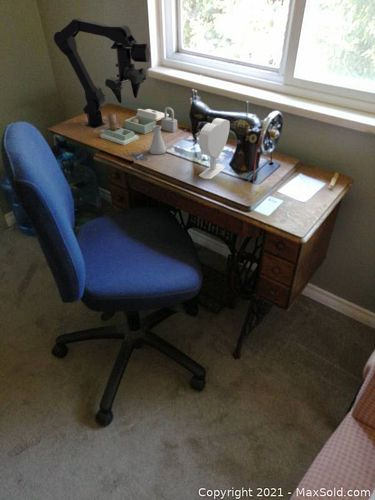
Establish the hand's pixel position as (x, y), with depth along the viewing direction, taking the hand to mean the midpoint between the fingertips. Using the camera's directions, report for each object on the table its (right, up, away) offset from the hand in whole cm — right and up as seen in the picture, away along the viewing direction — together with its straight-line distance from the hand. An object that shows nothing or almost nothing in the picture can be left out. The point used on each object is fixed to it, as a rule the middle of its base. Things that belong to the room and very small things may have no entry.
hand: (128, 100), depth 163 cm
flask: (+14, -26, -12) cm, 32 cm away
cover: (+10, -3, +10) cm, 14 cm away
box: (+5, -10, +7) cm, 13 cm away
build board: (-3, -17, -2) cm, 17 cm away
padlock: (+18, -11, +6) cm, 22 cm away
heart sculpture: (+35, -36, -25) cm, 57 cm away
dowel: (-6, -15, -1) cm, 16 cm away
